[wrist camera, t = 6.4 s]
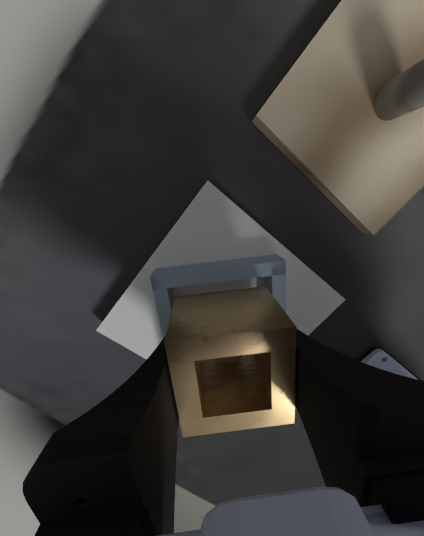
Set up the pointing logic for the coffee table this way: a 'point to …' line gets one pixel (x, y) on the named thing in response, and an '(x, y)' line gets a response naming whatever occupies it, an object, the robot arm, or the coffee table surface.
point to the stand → (357, 109)
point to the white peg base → (215, 274)
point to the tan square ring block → (232, 374)
